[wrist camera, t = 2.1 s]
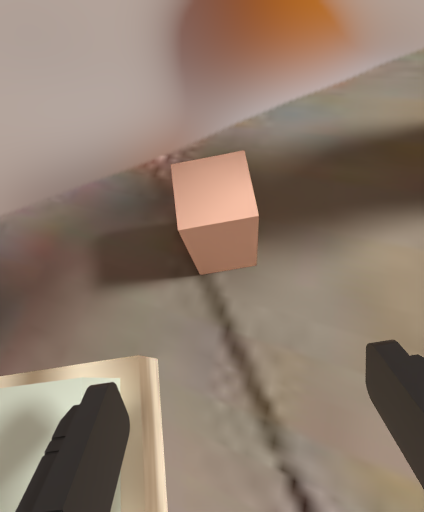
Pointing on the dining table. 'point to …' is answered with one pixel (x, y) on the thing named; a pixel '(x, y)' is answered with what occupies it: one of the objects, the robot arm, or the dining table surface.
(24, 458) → the tower top block
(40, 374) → the tower base block
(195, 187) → the terracotta block
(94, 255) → the dining table surface
